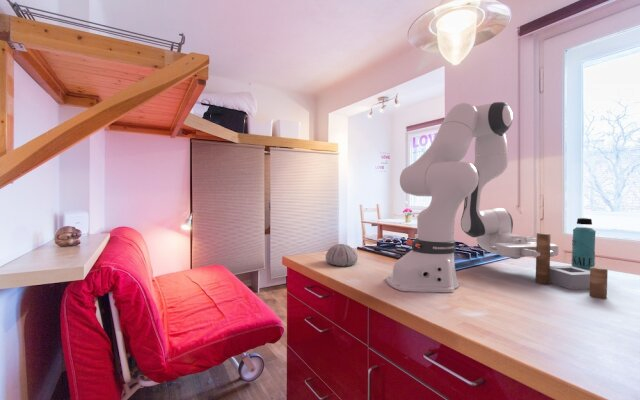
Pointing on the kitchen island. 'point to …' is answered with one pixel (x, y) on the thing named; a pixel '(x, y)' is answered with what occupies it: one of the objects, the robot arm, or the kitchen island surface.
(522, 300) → the kitchen island surface
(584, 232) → the beverage bottle
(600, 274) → the short dowel
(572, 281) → the socket block
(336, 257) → the sea urchin shell
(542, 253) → the long dowel
